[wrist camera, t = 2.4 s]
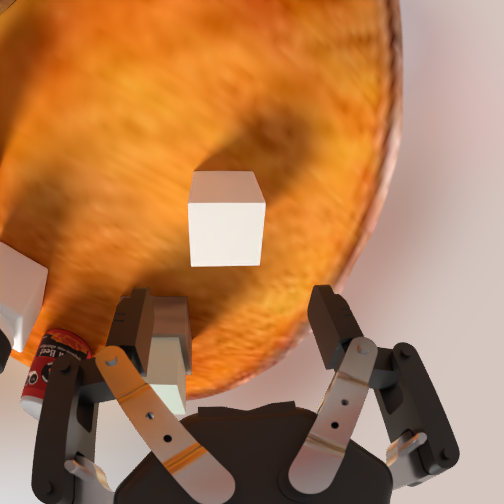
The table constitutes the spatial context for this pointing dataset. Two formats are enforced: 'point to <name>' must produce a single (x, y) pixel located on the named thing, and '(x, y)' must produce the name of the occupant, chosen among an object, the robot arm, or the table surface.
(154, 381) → the sage block
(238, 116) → the table surface
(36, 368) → the canned food
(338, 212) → the table surface
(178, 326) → the walnut base block
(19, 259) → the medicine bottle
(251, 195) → the cream block
